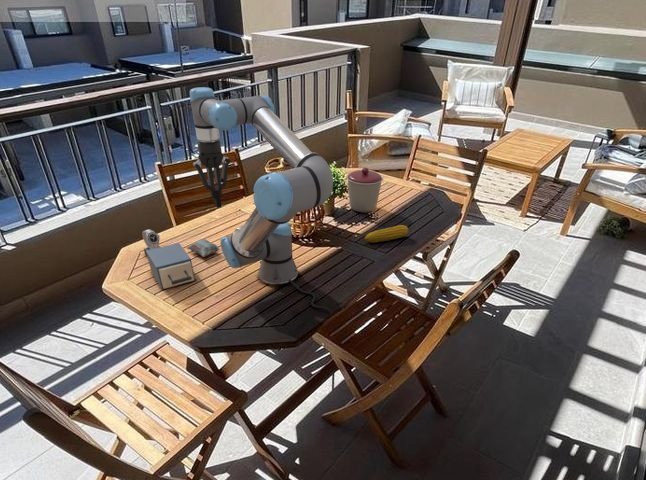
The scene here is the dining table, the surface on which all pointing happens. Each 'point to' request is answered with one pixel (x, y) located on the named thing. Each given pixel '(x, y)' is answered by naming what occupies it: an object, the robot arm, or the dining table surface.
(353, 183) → the canister
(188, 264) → the drawer
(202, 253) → the packaged food
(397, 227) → the food
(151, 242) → the watch
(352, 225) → the dining table surface
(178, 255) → the cabinet
